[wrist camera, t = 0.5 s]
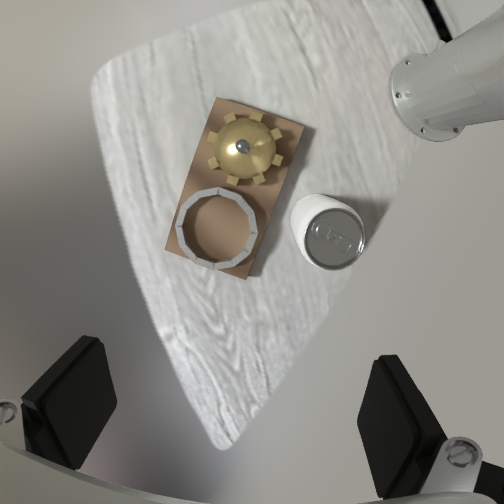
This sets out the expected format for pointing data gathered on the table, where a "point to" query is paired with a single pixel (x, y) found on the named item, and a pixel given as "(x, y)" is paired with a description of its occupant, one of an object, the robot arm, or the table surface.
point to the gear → (244, 148)
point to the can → (327, 232)
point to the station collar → (190, 250)
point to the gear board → (225, 209)
